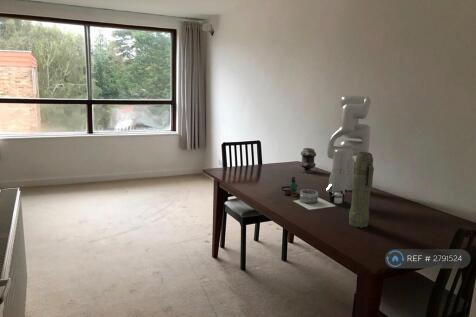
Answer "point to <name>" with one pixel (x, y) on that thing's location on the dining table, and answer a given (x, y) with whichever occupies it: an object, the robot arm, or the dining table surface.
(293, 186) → the binoculars
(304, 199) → the grey ring
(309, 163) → the apothecary jar
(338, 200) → the cap
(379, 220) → the dining table surface
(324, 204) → the mat
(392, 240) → the dining table surface
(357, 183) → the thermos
